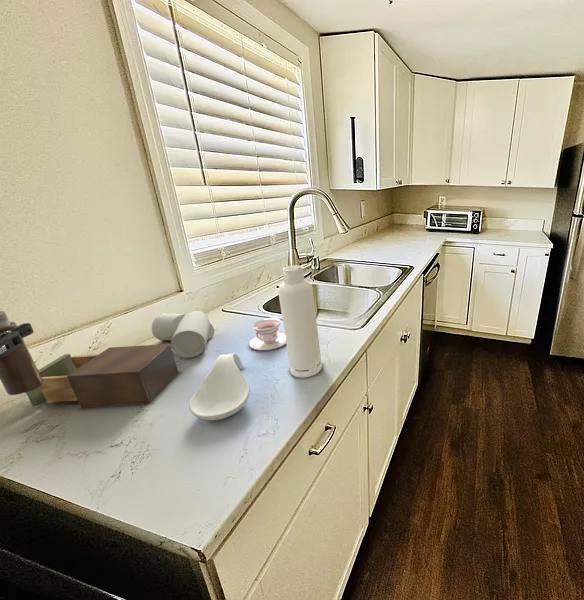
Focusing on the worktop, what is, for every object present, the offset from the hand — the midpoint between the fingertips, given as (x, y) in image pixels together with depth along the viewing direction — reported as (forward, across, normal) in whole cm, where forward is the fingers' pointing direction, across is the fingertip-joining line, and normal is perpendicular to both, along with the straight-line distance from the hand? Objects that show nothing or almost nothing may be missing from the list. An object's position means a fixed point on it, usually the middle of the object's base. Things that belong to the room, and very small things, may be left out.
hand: (13, 328), depth 62 cm
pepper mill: (-3, 0, +12) cm, 12 cm away
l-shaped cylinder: (+32, -11, +22) cm, 40 cm away
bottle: (+14, -50, +22) cm, 56 cm away
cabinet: (+10, -9, +22) cm, 26 cm away
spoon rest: (+5, -33, +22) cm, 40 cm away
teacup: (+31, -36, +22) cm, 52 cm away
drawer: (+10, +4, +21) cm, 24 cm away
